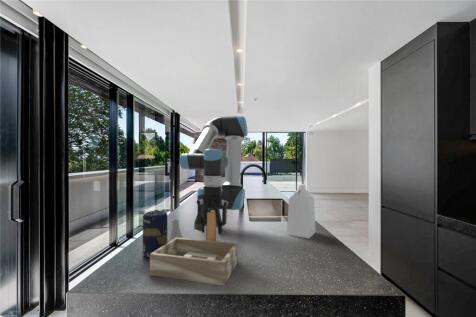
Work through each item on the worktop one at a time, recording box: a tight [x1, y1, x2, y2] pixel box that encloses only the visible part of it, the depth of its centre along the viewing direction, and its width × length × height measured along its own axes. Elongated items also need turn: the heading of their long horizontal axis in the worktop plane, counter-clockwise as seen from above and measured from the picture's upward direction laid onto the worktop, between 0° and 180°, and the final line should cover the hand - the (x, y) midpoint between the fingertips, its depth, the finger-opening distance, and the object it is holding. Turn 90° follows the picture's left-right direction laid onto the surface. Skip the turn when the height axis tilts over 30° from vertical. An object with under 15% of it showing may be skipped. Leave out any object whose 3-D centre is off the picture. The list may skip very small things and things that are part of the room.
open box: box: [149, 237, 239, 286], centre depth 89 cm, size 18×26×7 cm
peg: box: [207, 211, 217, 241], centre depth 105 cm, size 4×4×16 cm
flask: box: [167, 218, 184, 243], centre depth 117 cm, size 7×7×10 cm
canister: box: [142, 209, 168, 258], centre depth 101 cm, size 10×10×18 cm
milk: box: [286, 183, 316, 239], centre depth 132 cm, size 12×12×26 cm
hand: (212, 240), depth 105 cm, fingers closed on peg, 4 cm apart
